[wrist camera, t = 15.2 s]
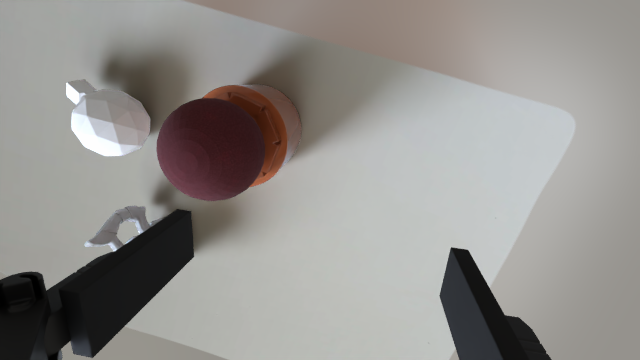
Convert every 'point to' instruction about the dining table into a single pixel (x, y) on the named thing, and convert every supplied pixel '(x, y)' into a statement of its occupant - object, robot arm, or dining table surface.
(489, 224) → the dining table surface
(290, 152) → the pedestal
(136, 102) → the perfume bottle
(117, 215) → the mug
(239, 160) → the decorative ball
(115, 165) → the dining table surface
